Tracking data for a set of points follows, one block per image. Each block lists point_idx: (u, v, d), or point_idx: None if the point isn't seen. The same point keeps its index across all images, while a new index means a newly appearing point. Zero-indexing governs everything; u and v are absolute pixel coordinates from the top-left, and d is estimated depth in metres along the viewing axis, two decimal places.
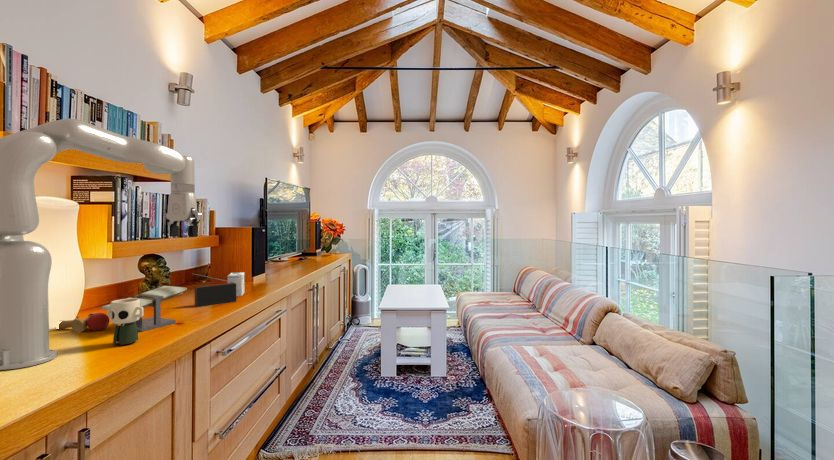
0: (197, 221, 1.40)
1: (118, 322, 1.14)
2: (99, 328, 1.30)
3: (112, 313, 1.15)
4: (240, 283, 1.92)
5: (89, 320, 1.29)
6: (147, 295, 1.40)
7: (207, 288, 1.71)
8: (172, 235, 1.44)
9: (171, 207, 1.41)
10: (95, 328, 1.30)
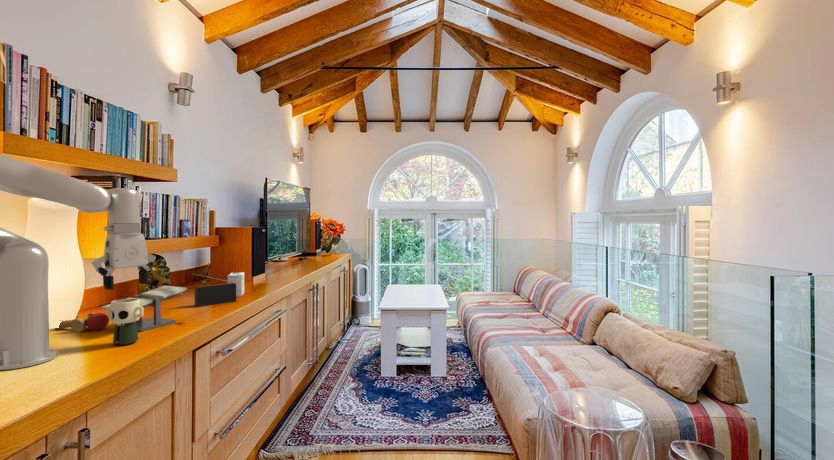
0: None
1: (118, 322, 1.14)
2: (98, 328, 1.31)
3: (112, 313, 1.15)
4: (240, 283, 1.92)
5: (89, 320, 1.30)
6: (147, 295, 1.40)
7: (207, 288, 1.71)
8: None
9: (123, 252, 1.14)
10: (95, 328, 1.30)
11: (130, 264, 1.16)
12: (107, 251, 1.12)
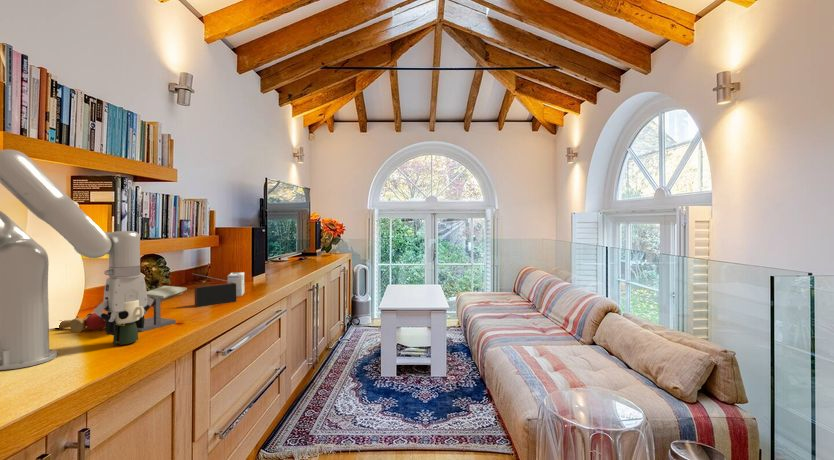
0: None
1: (118, 322, 1.14)
2: (98, 328, 1.31)
3: None
4: (240, 283, 1.92)
5: (88, 320, 1.30)
6: (147, 295, 1.40)
7: (207, 288, 1.71)
8: None
9: (122, 295, 1.14)
10: (94, 328, 1.30)
11: None
12: (107, 295, 1.12)
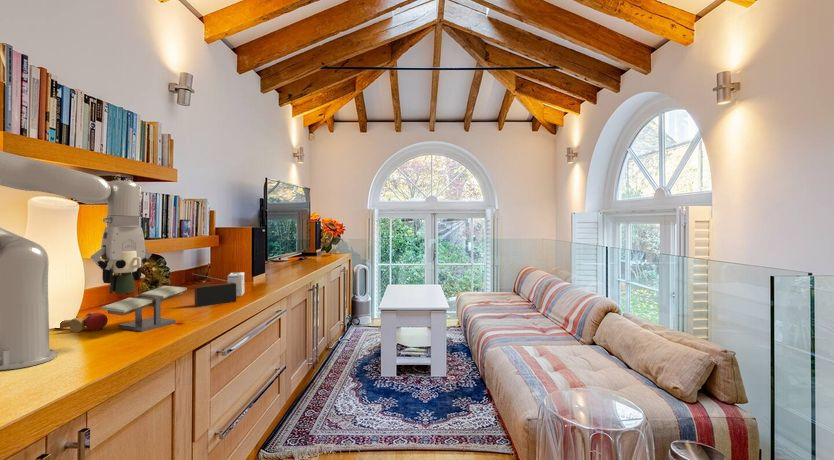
0: None
1: (115, 271, 1.13)
2: (97, 328, 1.31)
3: None
4: (240, 283, 1.92)
5: (87, 320, 1.30)
6: (147, 295, 1.40)
7: (207, 288, 1.71)
8: None
9: (120, 244, 1.13)
10: (93, 328, 1.30)
11: None
12: (104, 243, 1.12)
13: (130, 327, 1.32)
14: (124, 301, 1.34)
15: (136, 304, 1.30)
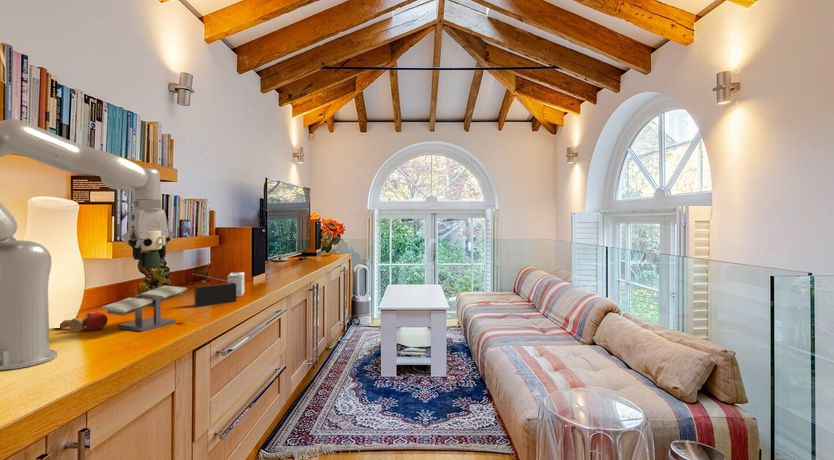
0: None
1: (143, 248, 1.28)
2: (97, 328, 1.31)
3: None
4: (240, 283, 1.92)
5: (87, 320, 1.30)
6: (147, 295, 1.40)
7: (207, 288, 1.71)
8: None
9: (146, 225, 1.28)
10: (93, 327, 1.30)
11: None
12: (132, 224, 1.26)
13: (130, 327, 1.32)
14: (124, 301, 1.34)
15: (136, 304, 1.30)
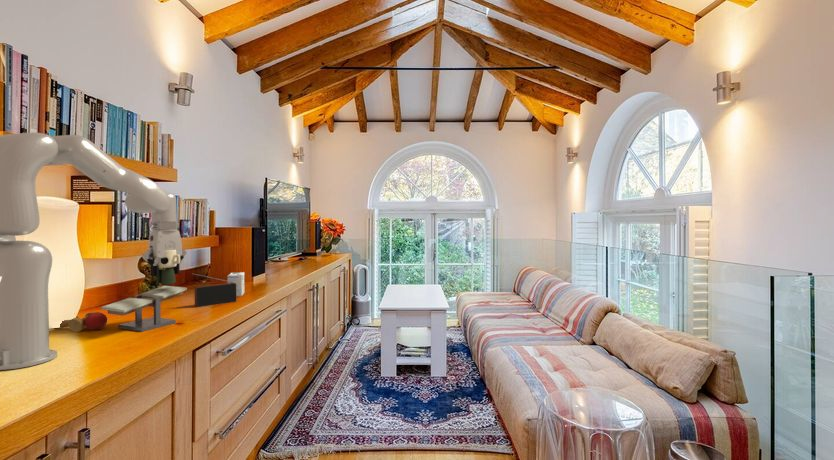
0: None
1: (160, 266, 1.40)
2: (97, 327, 1.31)
3: None
4: (240, 283, 1.92)
5: (87, 319, 1.30)
6: (147, 295, 1.40)
7: (207, 288, 1.71)
8: None
9: (163, 245, 1.40)
10: (93, 327, 1.30)
11: None
12: (151, 244, 1.39)
13: (130, 327, 1.32)
14: (124, 301, 1.34)
15: (136, 304, 1.30)
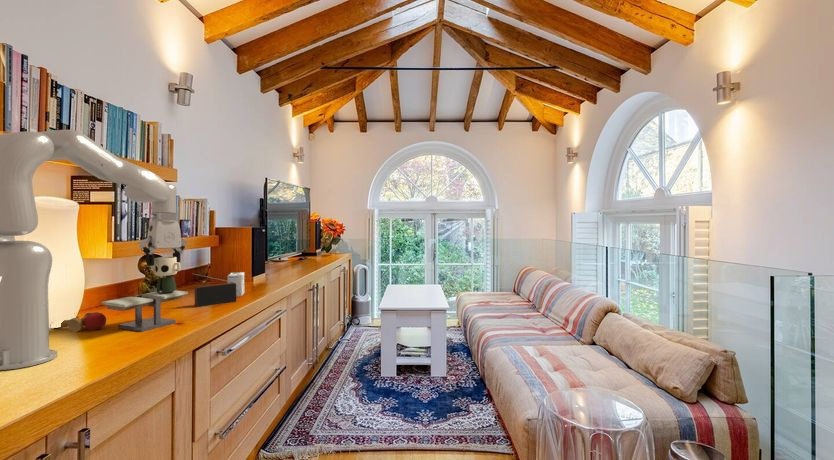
0: None
1: (161, 274, 1.40)
2: (96, 327, 1.31)
3: (155, 267, 1.41)
4: (240, 283, 1.92)
5: (86, 319, 1.30)
6: (148, 295, 1.40)
7: (207, 288, 1.71)
8: None
9: (162, 235, 1.40)
10: (92, 327, 1.31)
11: (167, 246, 1.41)
12: (150, 234, 1.38)
13: (130, 327, 1.32)
14: (125, 298, 1.34)
15: (137, 301, 1.30)
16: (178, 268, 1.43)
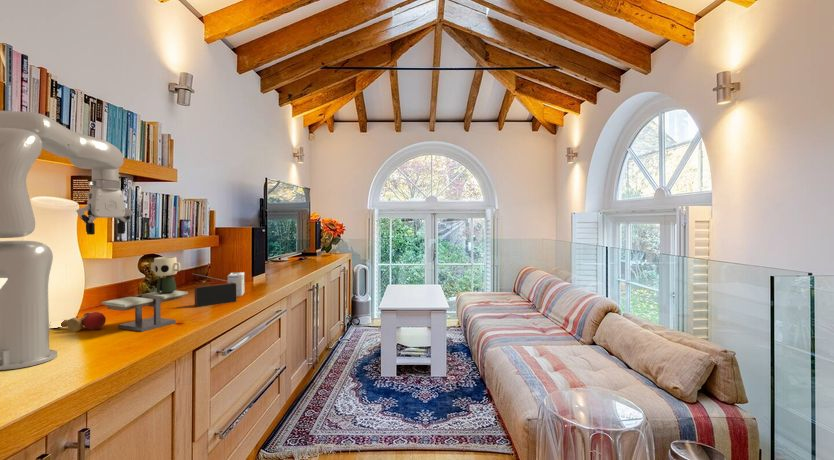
0: None
1: (161, 274, 1.40)
2: (95, 327, 1.31)
3: (155, 267, 1.41)
4: (240, 283, 1.92)
5: (85, 319, 1.30)
6: (148, 295, 1.40)
7: (207, 288, 1.70)
8: None
9: (103, 203, 1.36)
10: (92, 327, 1.31)
11: (109, 214, 1.38)
12: (90, 202, 1.34)
13: (130, 327, 1.32)
14: (125, 298, 1.34)
15: (137, 301, 1.30)
16: (178, 268, 1.43)
